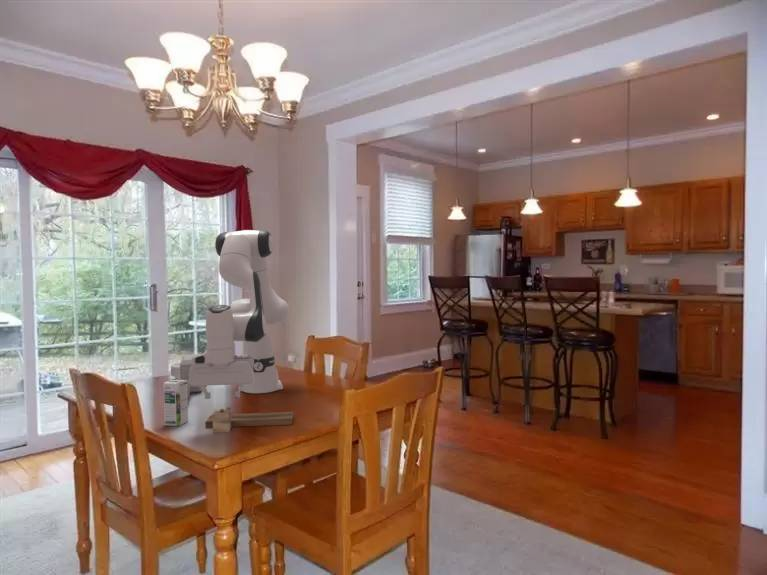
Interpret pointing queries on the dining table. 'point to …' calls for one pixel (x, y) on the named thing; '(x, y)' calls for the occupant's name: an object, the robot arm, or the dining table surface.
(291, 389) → the dining table surface
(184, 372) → the hammer
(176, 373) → the gray cross block
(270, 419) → the plank
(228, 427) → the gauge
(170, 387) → the syrup box
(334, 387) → the dining table surface
